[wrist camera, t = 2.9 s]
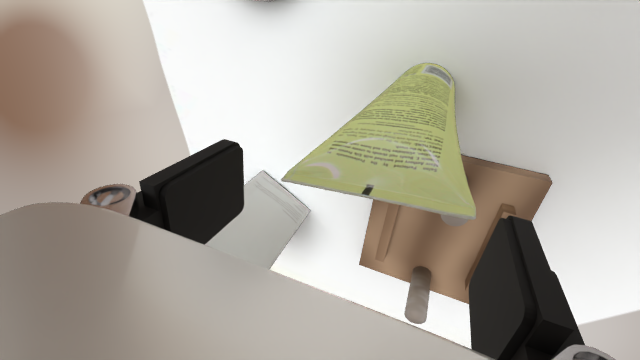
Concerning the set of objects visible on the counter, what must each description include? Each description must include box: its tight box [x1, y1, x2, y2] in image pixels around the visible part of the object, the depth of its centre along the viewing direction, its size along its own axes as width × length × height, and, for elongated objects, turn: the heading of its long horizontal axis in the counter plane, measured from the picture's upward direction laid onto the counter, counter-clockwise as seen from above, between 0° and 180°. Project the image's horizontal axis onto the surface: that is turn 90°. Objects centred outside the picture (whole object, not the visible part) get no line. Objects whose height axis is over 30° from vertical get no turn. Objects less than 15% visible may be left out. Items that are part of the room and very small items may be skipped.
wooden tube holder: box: [359, 155, 552, 324], centre depth 29 cm, size 14×16×8 cm
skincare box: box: [205, 171, 310, 269], centre depth 34 cm, size 8×6×15 cm
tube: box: [281, 63, 476, 220], centre depth 19 cm, size 6×5×20 cm
